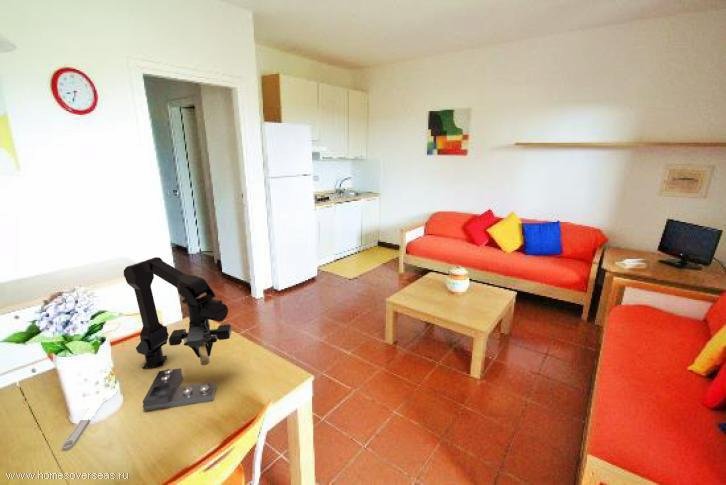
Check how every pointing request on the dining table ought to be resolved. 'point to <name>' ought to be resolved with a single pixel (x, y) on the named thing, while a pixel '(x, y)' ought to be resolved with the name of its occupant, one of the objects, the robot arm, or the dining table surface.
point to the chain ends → (176, 391)
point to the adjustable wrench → (75, 434)
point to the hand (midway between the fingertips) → (204, 356)
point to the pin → (204, 354)
